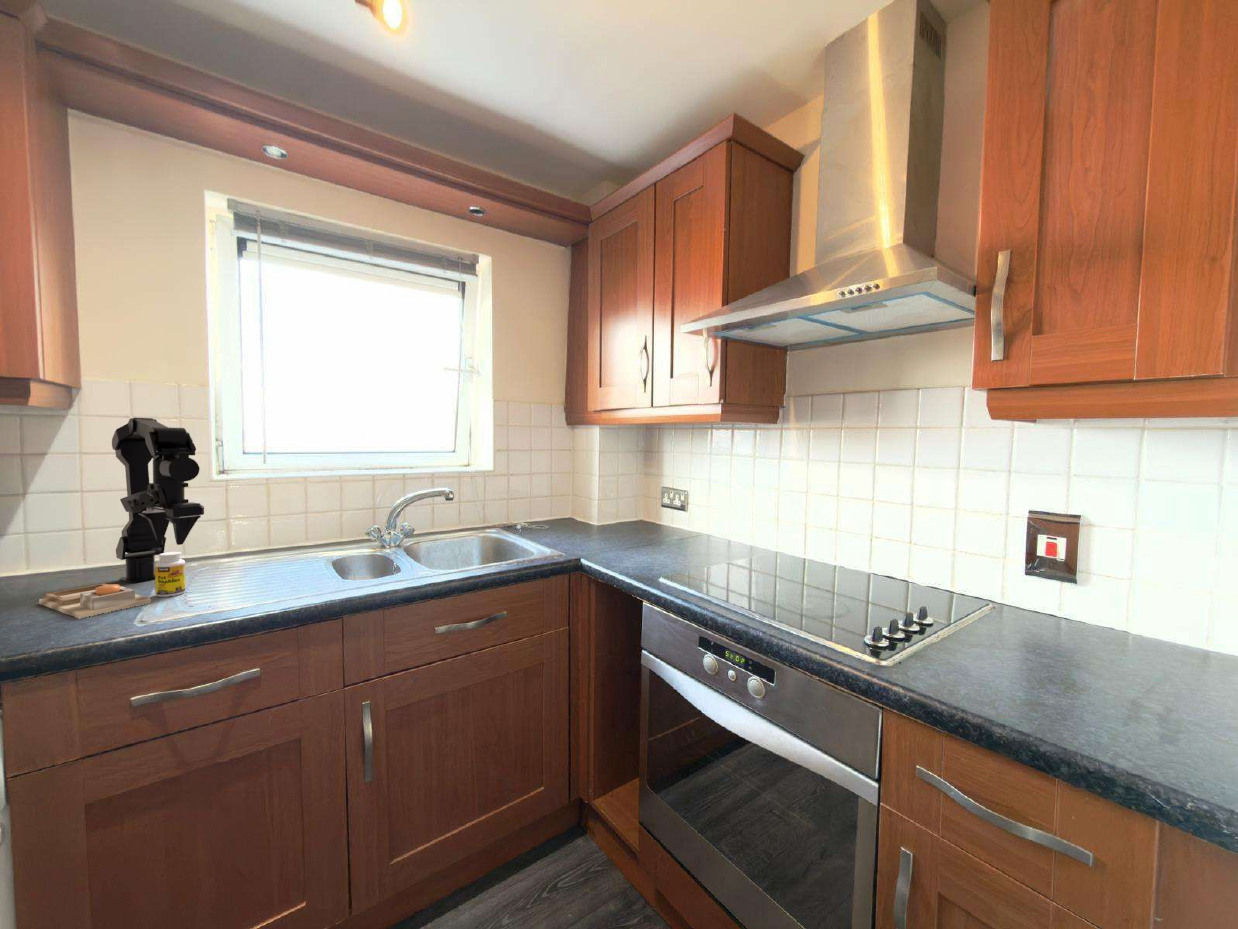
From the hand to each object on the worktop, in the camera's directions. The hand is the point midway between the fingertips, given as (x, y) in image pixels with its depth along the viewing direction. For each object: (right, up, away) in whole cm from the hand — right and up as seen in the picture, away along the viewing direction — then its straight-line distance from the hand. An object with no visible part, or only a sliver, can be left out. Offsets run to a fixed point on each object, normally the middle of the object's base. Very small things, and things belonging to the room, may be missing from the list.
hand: (169, 542), depth 124 cm
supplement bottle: (0, -13, +1) cm, 13 cm away
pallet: (-11, -13, -7) cm, 18 cm away
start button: (-5, -10, -10) cm, 15 cm away
